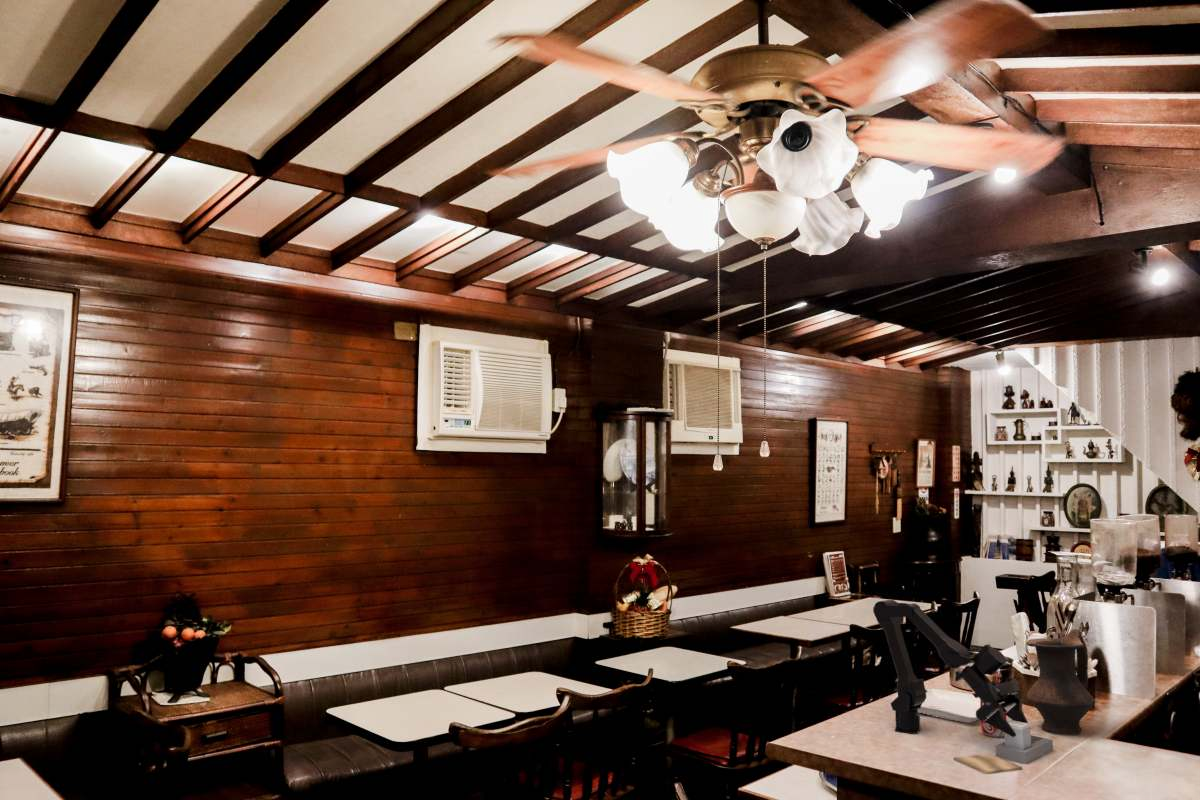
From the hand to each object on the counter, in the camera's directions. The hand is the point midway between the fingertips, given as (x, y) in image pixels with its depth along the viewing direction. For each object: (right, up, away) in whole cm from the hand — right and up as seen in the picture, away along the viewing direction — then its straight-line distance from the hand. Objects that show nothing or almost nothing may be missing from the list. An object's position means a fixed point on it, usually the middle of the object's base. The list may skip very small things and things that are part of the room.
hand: (1022, 732), depth 236 cm
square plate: (0, -12, +48) cm, 49 cm away
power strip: (+2, -7, +3) cm, 8 cm away
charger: (-1, -7, 0) cm, 7 cm away
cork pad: (-13, -6, -6) cm, 15 cm away
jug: (+26, -9, +25) cm, 37 cm away
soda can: (+2, -9, +21) cm, 23 cm away
